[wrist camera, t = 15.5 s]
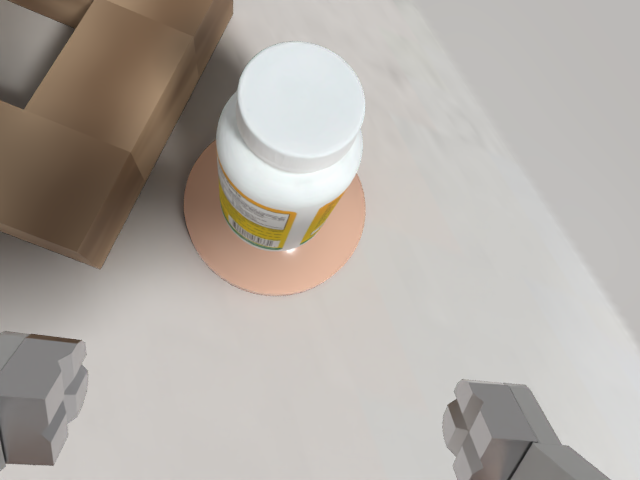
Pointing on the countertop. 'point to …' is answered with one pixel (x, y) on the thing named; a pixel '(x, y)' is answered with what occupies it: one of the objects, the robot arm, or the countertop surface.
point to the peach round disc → (259, 265)
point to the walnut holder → (100, 118)
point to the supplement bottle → (288, 144)
